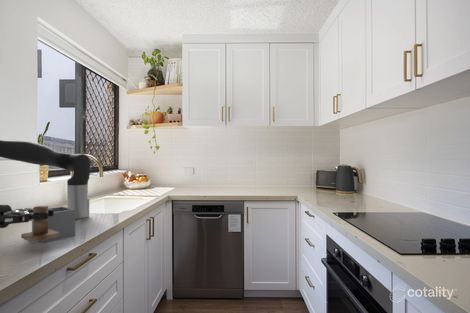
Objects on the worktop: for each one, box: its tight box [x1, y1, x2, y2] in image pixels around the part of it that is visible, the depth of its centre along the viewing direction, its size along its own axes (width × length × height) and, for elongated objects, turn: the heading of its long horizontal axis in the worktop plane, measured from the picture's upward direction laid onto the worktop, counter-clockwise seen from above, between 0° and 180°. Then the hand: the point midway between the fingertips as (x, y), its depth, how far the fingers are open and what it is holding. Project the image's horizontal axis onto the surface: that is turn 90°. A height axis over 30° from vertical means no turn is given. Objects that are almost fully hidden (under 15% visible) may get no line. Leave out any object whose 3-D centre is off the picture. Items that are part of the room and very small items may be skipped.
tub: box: [31, 206, 76, 244], centre depth 104 cm, size 11×11×10 cm
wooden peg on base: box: [20, 205, 59, 243], centre depth 88 cm, size 8×8×10 cm
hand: (50, 214), depth 89 cm, fingers closed on wooden peg on base, 4 cm apart
